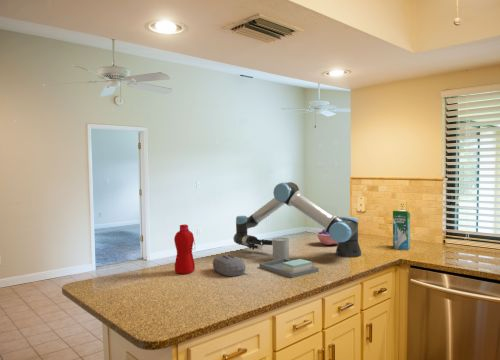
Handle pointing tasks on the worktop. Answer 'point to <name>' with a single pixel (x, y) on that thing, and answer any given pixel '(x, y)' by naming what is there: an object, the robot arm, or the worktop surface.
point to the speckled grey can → (280, 248)
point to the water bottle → (184, 251)
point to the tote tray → (278, 268)
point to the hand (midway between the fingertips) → (270, 246)
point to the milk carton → (401, 229)
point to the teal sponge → (296, 265)
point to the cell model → (325, 238)
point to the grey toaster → (229, 265)
